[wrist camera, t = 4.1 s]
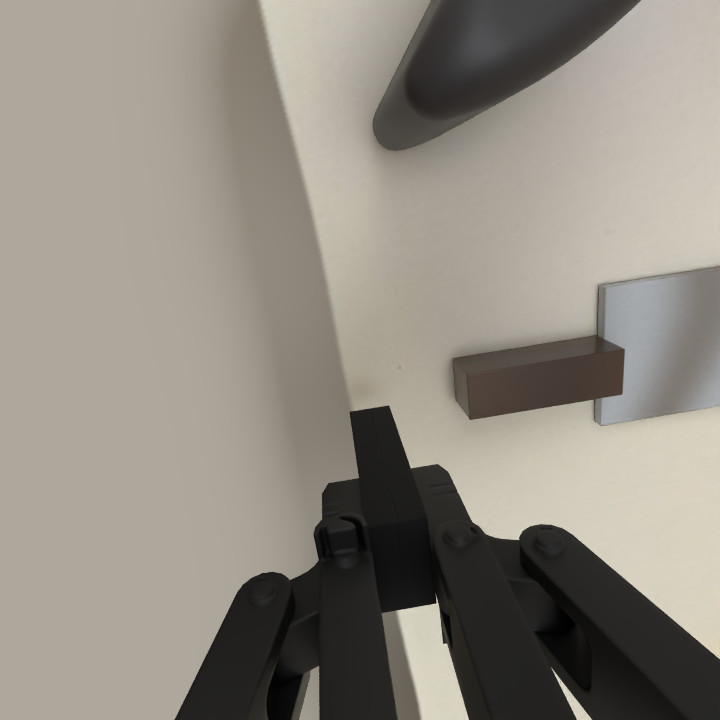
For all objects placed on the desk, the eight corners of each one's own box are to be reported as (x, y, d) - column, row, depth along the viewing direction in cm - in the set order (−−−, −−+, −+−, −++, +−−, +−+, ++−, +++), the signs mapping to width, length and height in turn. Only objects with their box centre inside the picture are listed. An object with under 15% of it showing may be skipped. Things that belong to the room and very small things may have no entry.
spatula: (459, 443, 23) (472, 467, 21) (448, 308, 21) (463, 319, 19) (744, 396, 24) (785, 414, 22) (764, 259, 22) (812, 265, 20)
